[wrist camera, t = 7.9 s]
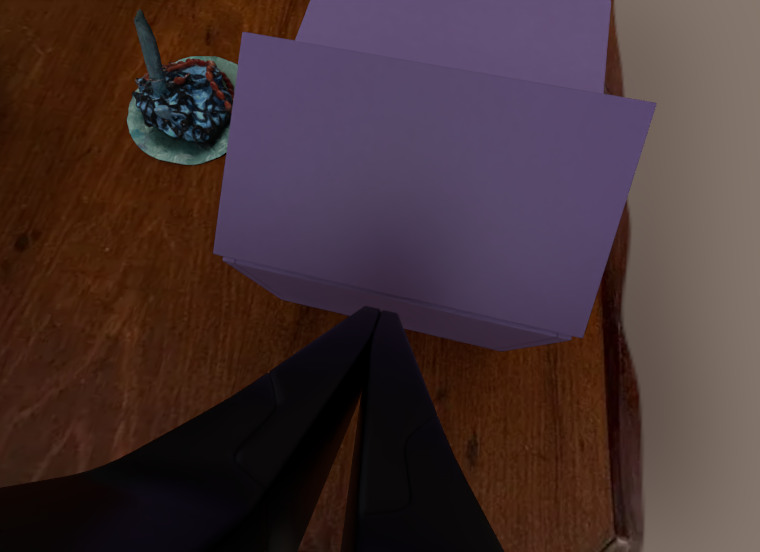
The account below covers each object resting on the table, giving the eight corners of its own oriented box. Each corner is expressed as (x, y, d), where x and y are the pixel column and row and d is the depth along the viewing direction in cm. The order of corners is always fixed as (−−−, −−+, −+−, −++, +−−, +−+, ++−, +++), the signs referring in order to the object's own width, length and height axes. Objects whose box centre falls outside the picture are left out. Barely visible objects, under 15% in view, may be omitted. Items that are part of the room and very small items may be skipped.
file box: (502, 351, 19) (584, 338, 11) (280, 299, 20) (211, 253, 12) (534, 128, 23) (613, -2, 15) (346, 93, 24) (326, -45, 16)
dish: (74, 120, 21) (110, -7, 18) (145, 106, 27) (182, 11, 24) (200, 200, 23) (252, 102, 20) (238, 171, 29) (283, 93, 26)
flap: (577, 335, 12) (583, 338, 11) (218, 253, 13) (212, 254, 12) (648, 107, 10) (657, 102, 10) (247, 37, 11) (242, 31, 11)
